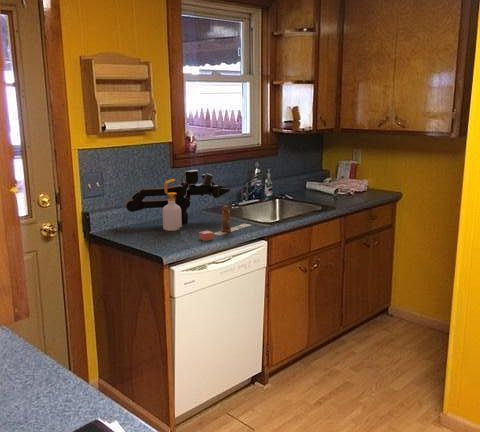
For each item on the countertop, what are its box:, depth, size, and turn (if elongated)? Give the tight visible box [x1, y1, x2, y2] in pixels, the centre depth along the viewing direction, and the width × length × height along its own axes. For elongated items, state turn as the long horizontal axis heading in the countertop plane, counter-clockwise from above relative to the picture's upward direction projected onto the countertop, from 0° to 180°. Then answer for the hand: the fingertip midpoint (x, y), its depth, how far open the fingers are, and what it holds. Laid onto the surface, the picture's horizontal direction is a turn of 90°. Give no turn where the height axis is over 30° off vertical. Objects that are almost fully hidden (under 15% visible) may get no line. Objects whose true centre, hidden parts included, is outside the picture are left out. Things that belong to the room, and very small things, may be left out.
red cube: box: [198, 230, 214, 242], centre depth 233 cm, size 4×4×4 cm
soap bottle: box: [162, 178, 183, 232], centre depth 254 cm, size 9×9×25 cm
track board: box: [213, 223, 251, 236], centre depth 251 cm, size 26×11×1 cm, turn 143°
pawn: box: [221, 205, 232, 233], centre depth 246 cm, size 4×4×12 cm
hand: (227, 188), depth 273 cm, fingers open, 9 cm apart
